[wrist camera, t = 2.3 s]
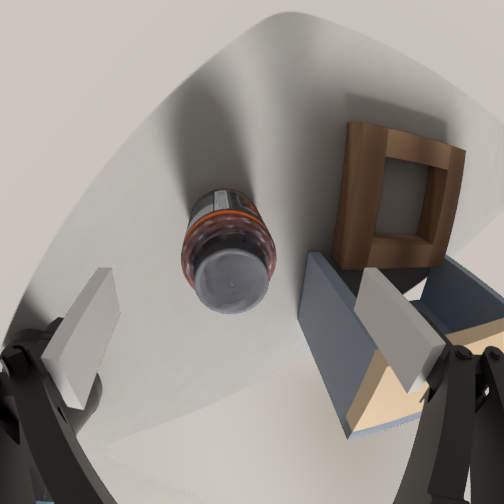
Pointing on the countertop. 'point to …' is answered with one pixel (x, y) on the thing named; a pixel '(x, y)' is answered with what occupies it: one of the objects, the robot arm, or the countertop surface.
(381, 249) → the socket
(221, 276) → the supplement bottle
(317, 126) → the countertop surface
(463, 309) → the blue open cabinet
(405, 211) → the countertop surface
